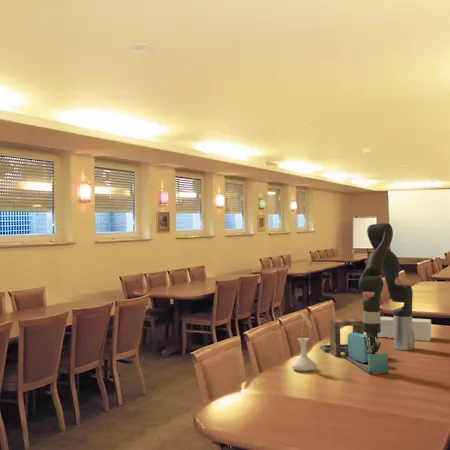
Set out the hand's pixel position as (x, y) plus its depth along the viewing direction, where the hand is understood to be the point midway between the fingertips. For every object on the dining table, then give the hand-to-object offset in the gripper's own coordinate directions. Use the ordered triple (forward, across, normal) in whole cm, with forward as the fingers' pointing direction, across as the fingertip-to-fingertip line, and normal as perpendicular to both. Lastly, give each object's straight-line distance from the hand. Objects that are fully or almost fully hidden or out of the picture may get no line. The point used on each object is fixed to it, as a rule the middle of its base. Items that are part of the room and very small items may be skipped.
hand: (372, 360), depth 224 cm
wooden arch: (+4, +31, 0) cm, 31 cm away
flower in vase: (+5, +8, +29) cm, 30 cm away
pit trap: (+4, +42, 0) cm, 42 cm away
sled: (+4, +9, 0) cm, 10 cm away
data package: (+4, +16, -1) cm, 17 cm away
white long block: (+5, +65, -46) cm, 79 cm away
